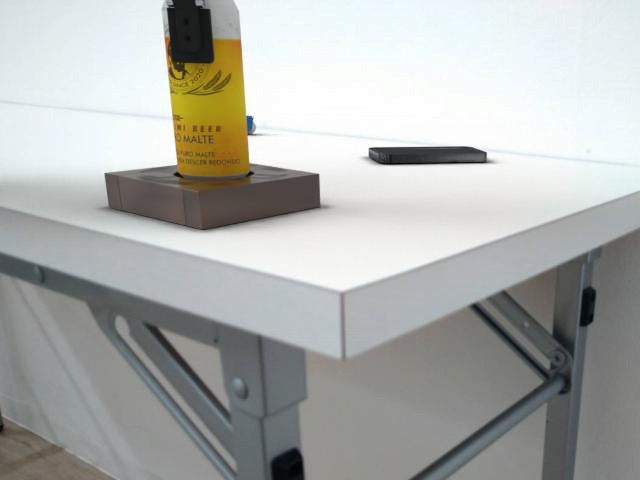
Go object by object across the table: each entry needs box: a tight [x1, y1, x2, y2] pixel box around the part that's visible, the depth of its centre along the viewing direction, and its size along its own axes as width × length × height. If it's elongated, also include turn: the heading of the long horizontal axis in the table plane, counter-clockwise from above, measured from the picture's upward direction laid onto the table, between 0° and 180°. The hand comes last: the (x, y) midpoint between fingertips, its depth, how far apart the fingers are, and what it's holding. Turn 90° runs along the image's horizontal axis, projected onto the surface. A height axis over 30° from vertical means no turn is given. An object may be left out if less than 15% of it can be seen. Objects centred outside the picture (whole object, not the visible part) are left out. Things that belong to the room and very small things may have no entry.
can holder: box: [104, 162, 321, 230], centre depth 66 cm, size 13×13×3 cm
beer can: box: [160, 0, 251, 180], centre depth 63 cm, size 6×6×15 cm
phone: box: [368, 145, 488, 164], centre depth 100 cm, size 8×1×15 cm
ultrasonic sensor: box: [246, 115, 257, 135], centre depth 123 cm, size 6×2×3 cm, turn 83°
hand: (204, 60), depth 62 cm, fingers closed on beer can, 6 cm apart
